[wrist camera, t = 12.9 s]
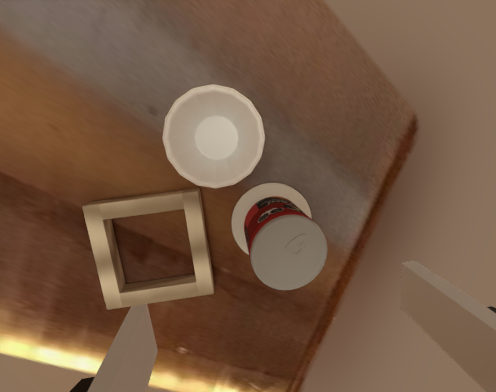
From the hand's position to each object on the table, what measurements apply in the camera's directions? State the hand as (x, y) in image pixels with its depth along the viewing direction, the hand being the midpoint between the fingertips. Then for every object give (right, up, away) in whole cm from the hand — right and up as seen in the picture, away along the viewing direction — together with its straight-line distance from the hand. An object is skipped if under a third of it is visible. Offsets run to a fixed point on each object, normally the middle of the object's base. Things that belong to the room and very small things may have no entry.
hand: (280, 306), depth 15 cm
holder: (-14, -1, +24) cm, 28 cm away
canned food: (+2, +2, +25) cm, 25 cm away
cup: (-6, +13, +23) cm, 27 cm away
